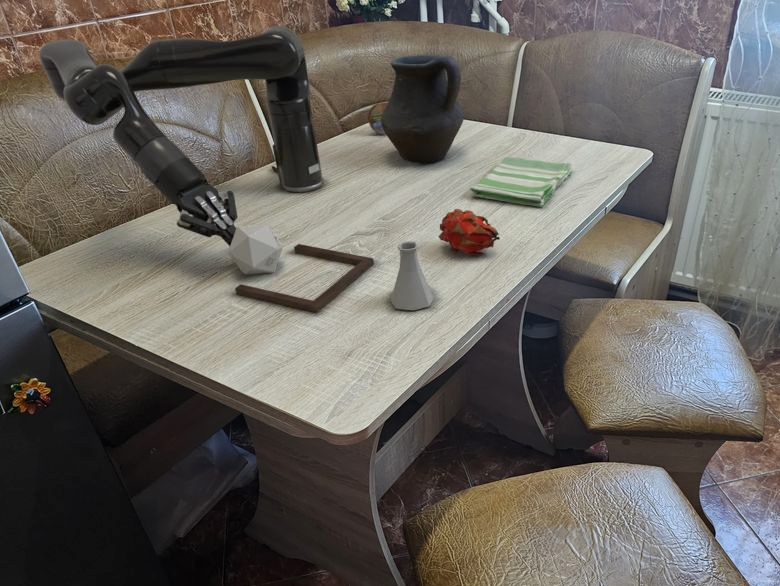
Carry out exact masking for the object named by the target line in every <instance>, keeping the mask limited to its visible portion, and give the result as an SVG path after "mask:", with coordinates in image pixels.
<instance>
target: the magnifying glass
mask: <svg viewBox="0 0 780 586" xmlns="http://www.w3.org/2000/svg"><path fill="white" fill-rule="evenodd" d="M387 103H388V101H383V102H378V103H375V104H374V105H373V106H372V107H371V108H370V109H369V111H368V113H367V114H368V115H367V120H368V125H369V126H370V128H371V129H372V130H373V131H374V132H375V133H377V134H378V135H383V136H387V135H386V134H385V132H384V130H383V128H382V125H381V116H382V113H383V111H384V109H385V107H386V105H387Z"/></svg>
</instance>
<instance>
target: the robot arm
mask: <svg viewBox="0 0 780 586" xmlns="http://www.w3.org/2000/svg"><path fill="white" fill-rule="evenodd" d="M38 55H39V60H40V62H41V65H42V67H43V70H44V72H45V75H46V76H47V78H48V81H49V83H50V85H51V87H52V90H53V91H54V94H55V95H56V97H58V99H60V100H63V101H65V104H66V105H67V107H68V108H69V110H70V112H71V113H72V114H73V115H74V116H75V117H76V118H77V119H78V120H80V121H81V122H83V123H84V124H87V125H90V126H99V125H102V124H104V123H106V122H107V121H108V120H110V118H112V117H114V116H115V115H117V113H119V112H120V111H122V109H124V113H123V115H122V117H121V119H120V120H119V121H118V123H117V124H116V125H115V127H114V129H113V132H112V137H113V140H114V142H115V143H116V144H117V146H119V147H120V149H122V150H123V151H124V153H125V154H126V155H127V156H128V157H129V158H130V159H131V161H133V162H134V163H135V164H136V166H137V167H138V168H139V170H140V171H141V172H142V174H143V175H144V176H145V177H146V178H147V179H148V180H149V181H150V182H151V183H152V184H153V185H154V186H155V188H156V189H157V190H158V191H159V192H160V193H161V194H162V195H163V196H164V197H165V198H166V199H167V200H168V201H169V202H170V204H172V205H175V207H176V209H177V211H178V212H179V213H180V214H179V218H178V219H177V222H176V226H177V227H179V228H181V229H184V230H187V231H190V232H191V233H195V234H198V235H201V236H204V237H207V238H211V237H213V236H217V237H220V238H221V239H222V240H223V241H224V242H225V243H226V245H227V246H229V247H230V245H231V242H232V240H233V237H234V234H235V231H236V228H237V226H235V222H236V220H237V219H238V210H237V206H236V199H235V194H234V192H233V191H231V190H227V191H226V192H221V191H218V189H217V188H216V187H214V186H212V185H211V184H210V183H209V182H208V180H207V177H206V175H205V174H204V173H203V172H202V171H201V170H200V168H198V167H197V165H196V164H195V163H194V162H193V161H192V160H191V159H190V158H189V156H187V155H186V154H185V152H183V151H182V149H181V148H180V147H179V146H178V145H177V144H175V142H173V141H172V140H171V139H169V138H168V136H167V135H166V134H165V133H164V132H163V131H162V130H161V129H160V128H159V126H158V125H156V123H155V122H154V121H153V120H152V119H151V117H150V116H149V115H148V113H147V112H146V111H145V109H144V108H143V106H142V103H140V100H139V99H138V96H137V95H136V93H137V92H138V93H139V92H148V91H149V92H150V91H161V90H162V91H164V90H179V89H188V88H196V87H203V86H209V85H215V84H220V83H226V82H231V81H240V80H241V81H243V80H246V81H248V80H250V81H251V80H253V81H254V80H256V81H259V80H261V81H264V82H265V92H266V93H265V94H266V95H265V104H266V109H267V112H268V118H269V123H270V127H271V133H272V137H273V142H274V144H272V152H273V156H274V161H275V165H272V166H271V170H272V171H275V172H276V173H277V175H278V180H279V185H280V186H281V187H282V189H283V190H285V191H286V192H292V193H306V192H311V191H315V190H317V189H320V188H321V187H322V186H323V185H324V178H323V173H322V166H321V160H320V154H319V148H318V142H317V136H316V135H317V134H316V129H315V124H314V123H315V122H314V118H313V112H312V105H311V90H310V83H309V81H310V80H309V75H308V68H307V61H306V60H307V59H306V54H305V50H304V46H303V42H302V41H301V39H300V37H299V36H298V34H296V32H294V31H293V30H292V29H290V28H289V27H286V26H282V25H275V26H271V27H269V28H267V29H265V30H264V31H263V32H262V33H261V34H259V35H257V34H256V35H254V36H253V35H252V36H250V37H245V38H239V39H233V40H212V39H205V38H193V37H179V38H178V37H177V38H167V39H159V40H153V41H151V42H149V43H148V44H146V45H145V46H144V47H143V48H141V50H139V52H138V53H137V54H136V55H135V56H134V57H133V58H132V59H131V60H130V62H128V63H127V64H126V65H125V66H124V67H123V68H122V69H118V68H117V67H116V66H114V65H111V64H107V63H101V64H98V65H96V63H95V60H94V58H93V56H92V53H91V52H90V50H89V49H88V47H87V45H86V44H85V43H83V42H82V41H79V40H78V39H77V40H76V39H59V40H53V41H50V42H47V43H45V44H43V45H42V46H41V47H40V49H39V52H38Z"/></svg>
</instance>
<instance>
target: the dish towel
mask: <svg viewBox="0 0 780 586" xmlns="http://www.w3.org/2000/svg"><path fill="white" fill-rule="evenodd" d="M572 165H573V164H572V163H569V162H568V163H567V162H561V163H560V162H550V161H543V160H538V159H537V160H535V159H526V158H520V157H505V158H503V159H502V160H501V161H500V162H499V163H498V164H497V165H496V166H495V167H494V168H492V170H491V171H490V172H489V173H487V174H486V175H485V176H484V177H483V178H482V179H480V180H478V182H476V183H475V184H474V185H472V186H470V187H469V190H470V192H471V193H472V194H473V196H474V197H477V198H483V199H489V200H496V201H501V202H505V203H513V204H517V205H518V204H519V205H523V206H525V205H526V206H533V207H540V208H542V207H543V206H544V205H545V204H546V202H547V201H548V199H549V198H550V197H551V196H552V195H551V194H552V193H553V192H554V191H555V190H556V189H557V188H558V187H559V186H560V185H561V184H562V182H563V181H564V180H565V179H566V178H567V177H568V176H569V175H570V173H571V172H572V170H573V168H572Z"/></svg>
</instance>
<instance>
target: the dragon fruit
mask: <svg viewBox="0 0 780 586" xmlns="http://www.w3.org/2000/svg"><path fill="white" fill-rule="evenodd" d="M439 230H440V231H441V233H440V234H439V235H438V238H439V240H440V241H443V242H446V243H448V244H449V246H450V247H451V250H452V251H453V253H454V254H455V255H458V254H459V253H460V251H461V252H463V253H466V254H467V255H470V256H472V257H480V256H483V255H485V254H486V253H485V252H483V250H485V249H488V248H494V245H495V242H496V241H500V239H501V238H500V236H499V235H500V233H499V232H498V231H497V229H496V228H495V227H494V226H492V225H491V224H490V223H489V220H488V219H487V218H486V217H484V216H483V215H476V214H475V213H474V211H472V210H467V209H465V210H464V211H462V209H461V208H455V209H454V210H453V211H451V212H450V211H448V212H447V213H446V215H445V216H444V217H443V218H442V220H441V223H440V224H439Z"/></svg>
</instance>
